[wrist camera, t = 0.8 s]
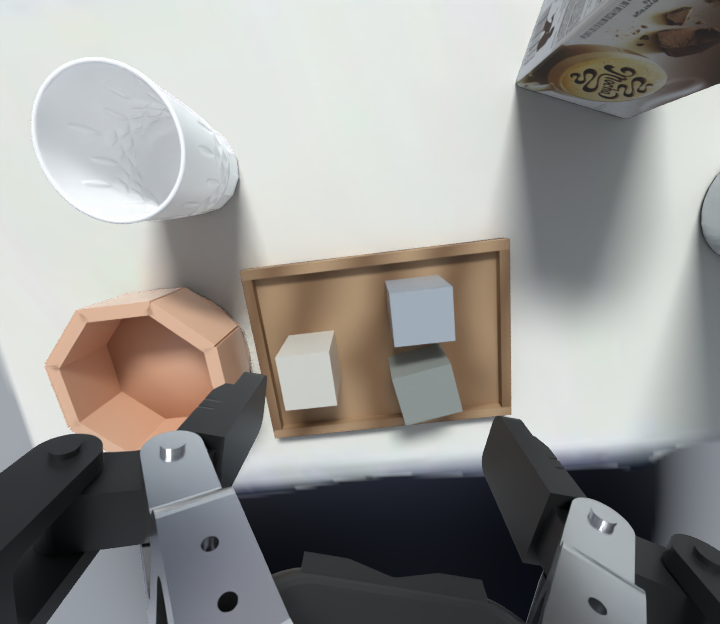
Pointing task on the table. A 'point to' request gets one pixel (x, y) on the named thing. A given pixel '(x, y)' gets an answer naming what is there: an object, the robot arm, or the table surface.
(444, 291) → the pale blue cube
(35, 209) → the table surface
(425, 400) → the medium grey cube
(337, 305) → the walnut tray
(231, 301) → the table surface
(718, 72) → the coffee box
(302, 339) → the pale grey cube
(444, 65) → the table surface
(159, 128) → the white cup
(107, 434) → the terracotta bowl
